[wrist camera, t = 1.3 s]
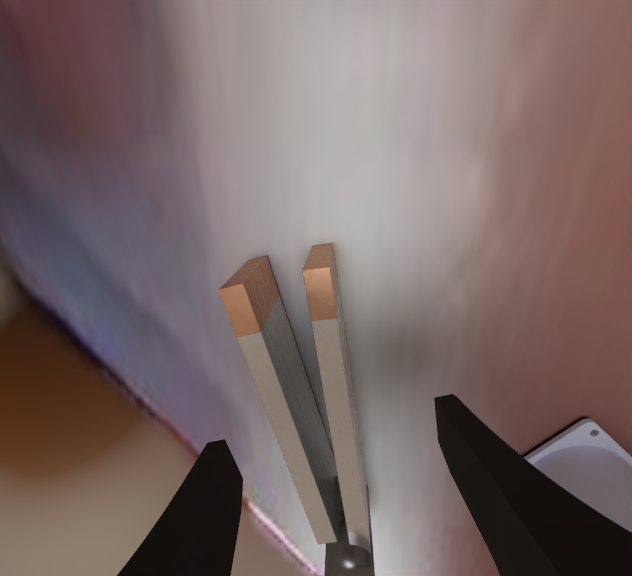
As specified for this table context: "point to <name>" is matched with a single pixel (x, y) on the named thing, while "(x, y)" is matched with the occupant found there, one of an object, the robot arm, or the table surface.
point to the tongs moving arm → (284, 391)
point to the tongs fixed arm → (339, 418)
